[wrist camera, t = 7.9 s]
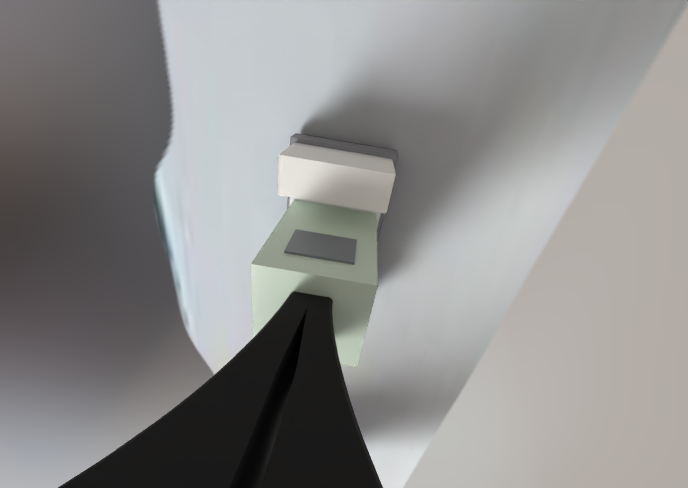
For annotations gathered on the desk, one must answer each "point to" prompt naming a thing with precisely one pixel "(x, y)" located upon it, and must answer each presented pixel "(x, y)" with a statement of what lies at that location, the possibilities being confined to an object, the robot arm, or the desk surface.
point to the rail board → (337, 174)
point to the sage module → (320, 269)
